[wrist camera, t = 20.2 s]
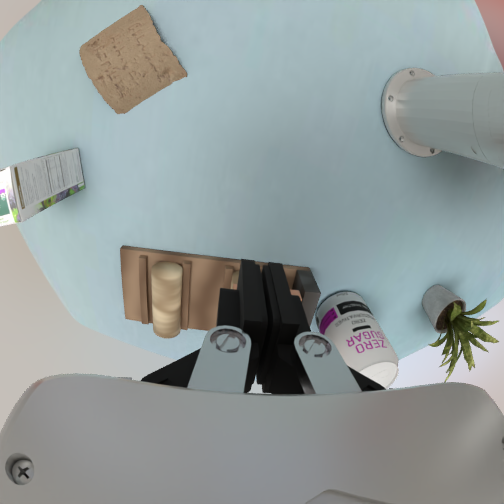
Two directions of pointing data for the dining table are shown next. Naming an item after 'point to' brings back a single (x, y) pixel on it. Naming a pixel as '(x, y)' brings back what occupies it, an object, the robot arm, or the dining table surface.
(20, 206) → the syrup box
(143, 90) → the clay tablet
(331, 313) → the supplement can
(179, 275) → the under roller
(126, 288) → the track
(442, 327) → the house plant
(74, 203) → the dining table surface
